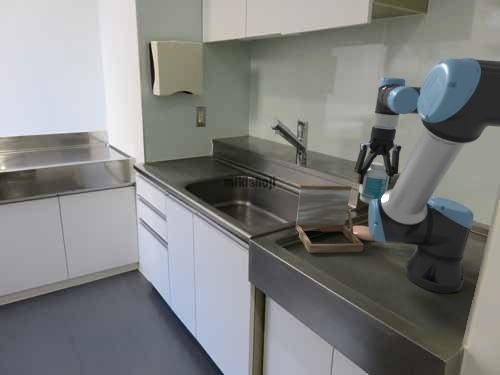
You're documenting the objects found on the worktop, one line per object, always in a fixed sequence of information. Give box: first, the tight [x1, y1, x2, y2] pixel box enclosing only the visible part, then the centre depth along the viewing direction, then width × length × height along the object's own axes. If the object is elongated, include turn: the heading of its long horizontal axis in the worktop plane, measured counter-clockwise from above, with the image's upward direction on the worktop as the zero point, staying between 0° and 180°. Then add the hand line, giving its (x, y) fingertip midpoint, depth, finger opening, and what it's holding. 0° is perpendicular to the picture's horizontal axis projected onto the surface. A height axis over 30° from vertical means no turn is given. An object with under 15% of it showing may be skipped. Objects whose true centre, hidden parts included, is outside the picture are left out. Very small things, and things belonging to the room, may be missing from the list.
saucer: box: [348, 225, 376, 242], centre depth 131 cm, size 11×11×1 cm
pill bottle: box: [359, 161, 387, 205], centre depth 125 cm, size 8×7×14 cm
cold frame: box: [295, 184, 365, 254], centre depth 121 cm, size 16×19×17 cm
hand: (372, 192), depth 126 cm, fingers closed on pill bottle, 7 cm apart
